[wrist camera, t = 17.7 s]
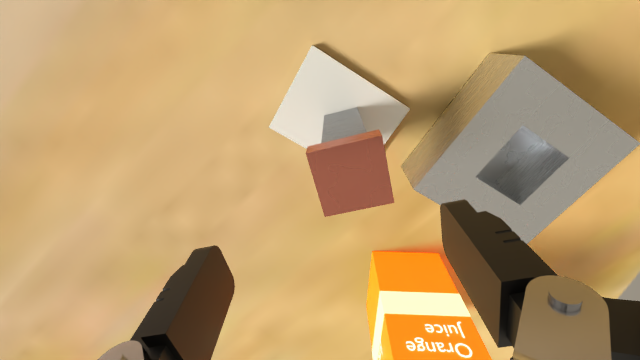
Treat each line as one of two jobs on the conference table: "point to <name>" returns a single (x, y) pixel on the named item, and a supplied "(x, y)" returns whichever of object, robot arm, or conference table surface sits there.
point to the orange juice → (418, 311)
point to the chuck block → (516, 146)
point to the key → (349, 165)
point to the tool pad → (332, 101)
